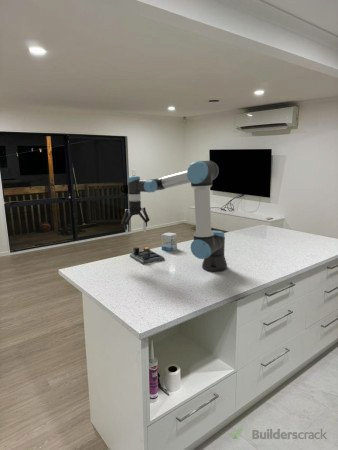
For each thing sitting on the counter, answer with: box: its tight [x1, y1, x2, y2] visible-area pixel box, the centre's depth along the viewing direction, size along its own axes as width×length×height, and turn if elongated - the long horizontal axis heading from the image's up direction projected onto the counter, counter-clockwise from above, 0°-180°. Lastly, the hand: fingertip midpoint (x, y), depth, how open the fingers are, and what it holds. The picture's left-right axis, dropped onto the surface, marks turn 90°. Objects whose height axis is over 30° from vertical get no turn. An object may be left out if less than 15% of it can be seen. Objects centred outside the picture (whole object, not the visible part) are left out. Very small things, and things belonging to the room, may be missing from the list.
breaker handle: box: [143, 246, 151, 255], centre depth 214 cm, size 3×3×5 cm
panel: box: [129, 246, 166, 265], centre depth 214 cm, size 20×16×6 cm
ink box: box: [161, 232, 178, 252], centre depth 234 cm, size 9×8×12 cm
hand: (136, 233), depth 208 cm, fingers open, 12 cm apart
